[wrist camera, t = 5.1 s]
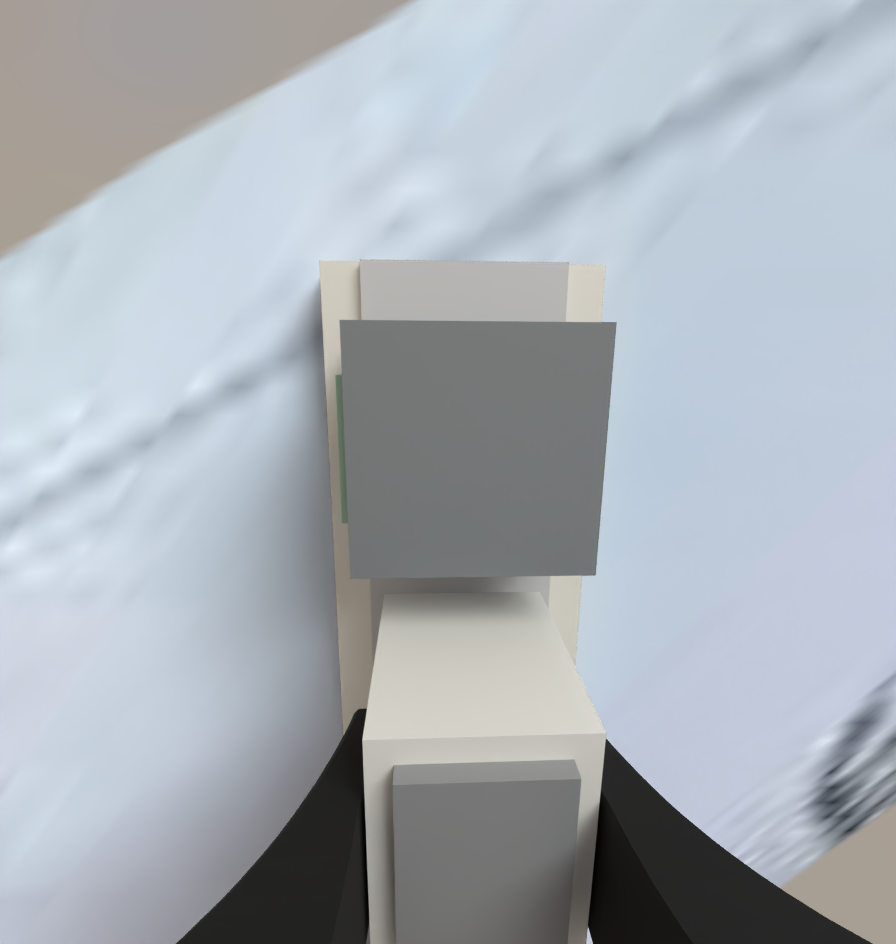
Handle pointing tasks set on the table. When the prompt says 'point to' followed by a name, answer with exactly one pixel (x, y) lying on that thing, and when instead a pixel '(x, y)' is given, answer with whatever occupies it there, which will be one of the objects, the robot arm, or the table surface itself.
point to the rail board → (462, 437)
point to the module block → (478, 774)
